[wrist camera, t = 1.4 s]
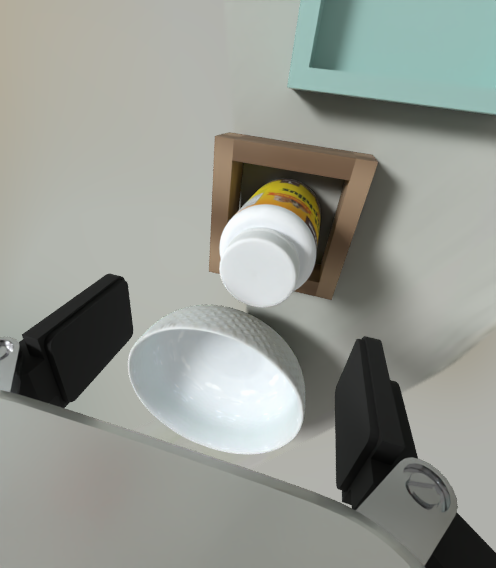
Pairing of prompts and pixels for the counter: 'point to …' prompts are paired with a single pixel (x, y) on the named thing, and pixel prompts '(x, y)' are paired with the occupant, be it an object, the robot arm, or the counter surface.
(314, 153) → the socket block
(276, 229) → the supplement bottle
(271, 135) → the counter surface
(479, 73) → the tray
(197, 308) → the cereal bowl
